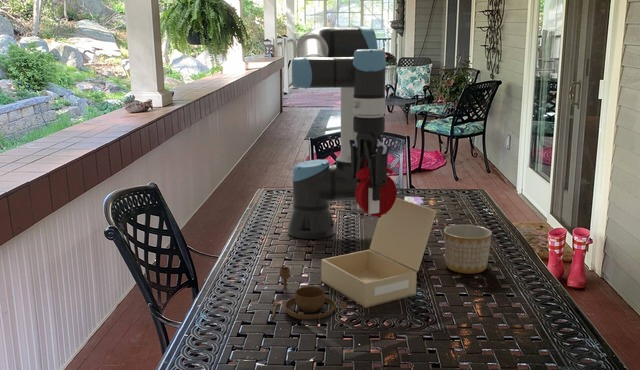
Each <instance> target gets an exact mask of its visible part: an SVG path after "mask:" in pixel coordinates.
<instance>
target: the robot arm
mask: <svg viewBox="0 0 640 370" xmlns="http://www.w3.org/2000/svg"><path fill="white" fill-rule="evenodd" d="M295 53H296V57H294V58H292V60H291V85H292V87H294V88H295V89H296V88H298V89H299V88H301V89H305V90H306V89H322V88H323V89H325V88H326V89H327V88H331V89H332V88H333V89H335V88H336V89H337V88H340V154H339V155H338V156H337V157H336V158H335V164H331V163H330V161H329V160H328V159H323V158H322V159H311V160H305V161H301V162H299V163H297V164H295V166H293V169H292V178H291V181H292V206H293V207H292V213H291V214H290V215H291V216H290V219H289V221H288V225H287V234H288V235H290V236H291V237H293V238H297V239H304V240H305V239H306V240H317V239H325V238H328V237H331V236H333V235H334V234H335V232H336V229H335V228H336V226H335V222H334V220H333V216H332V214H331V209H330V202H351V201H352V202H354V201H355V202H356V203H357V201H356V197H355V191H356V187H357V185H358V183H359V182H360V180H361V179H358V178H357V176H356V174H357V172H358V171H359V170H360V169H362V167H363V168H364V167H365V162H366V160H367V159H368V161H367V162H366V167H367V168H369V173H370V182H371V186H368V187H369V196H368V213H367V214H368V215H369V214H374V213H379V200H380V188H381V186H385V185H386V184H387V176H388V173H387V167H388V154H389V151H390V145H389V144H384V143H383V139H382V135H381V134H382V133H384V132H385V131H386V129H385V128H386V118H385V116H384V115H385V114H386V70H387V69H386V67H387V61H386V60H387V58H386V55H387V54H386V51H385V50H384V49H380V48H379V46H378V40H377V36H376V32H375V30H374V29H373V28H372V27H370V26H360V25H358V26H320V27H317V28H313V29H311V30H310V31H307V32H305V34H303V35H302V36H301V37H300V38H299V39H298V41H297V43H296V47H295ZM366 167H365V168H366ZM356 205H357V206H356V207H357V208H356V209H357V210H358V211H359V210H363V209H362V208H361V207H360V206H359V205H358V203H357V204H356Z"/></svg>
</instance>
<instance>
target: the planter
mask: <svg viewBox="0 0 640 370" xmlns="http://www.w3.org/2000/svg"><path fill="white" fill-rule="evenodd" d="M443 235H444V236H443V237H444V238H443V239H444V256H445V265H446V267H447V269H448V270H451V271H453V272H455V273H458V274H459V273H460V274H466V275H467V274H468V275H469V274H471V275H473V274H479V273H482V272H484V271H485V270H486V269H487V267H488V263H489V261H488V260H489V254H490V248H491V243H492V241H491V240H492V235H493V233H492V231H491V230H490V229H488V228H486V227H484V226H480V225H479V226H478V225H474V224H472V225H471V224H453V225H448V226H446V227H445V228H444V229H443Z"/></svg>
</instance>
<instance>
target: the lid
mask: <svg viewBox="0 0 640 370" xmlns="http://www.w3.org/2000/svg"><path fill="white" fill-rule="evenodd" d="M436 215H437V210H435V209H432V208H430V207H426V206H424V205H423V206H421V205H417V204H414V203H411V202H408V201H405V200H404V199H402V198H399V197H396V200H395V203H394V205H393V206H392V208H391V209H390V210H389V211H388V212H387V214H383V215H381V217H380V218H378V217H377V218H378V219H377V222H376V225H375V229H374V232H373V235H372V239H371V241H370V246H369V249H368V250H371V251H373V252H375V253H378V254H380V255H382V256H384V257H386V258H388V259H390V260H392V261H395V262H397V263H399V264H401V265H403V266H405V267H407V268H410V269H412V270H414V271H416V272H419V271H420V268H421V264H422V260H423V257H424V253H425V251H426V248H427V244H428V241H429V237H430V234H431V230H432V227H433V225H434V220H435V219H436V217H435V216H436Z"/></svg>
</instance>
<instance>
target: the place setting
mask: <svg viewBox="0 0 640 370" xmlns="http://www.w3.org/2000/svg"><path fill="white" fill-rule="evenodd" d="M279 275H280V278H281V279H282V280H283V283H282V285H283V289H284V290H287V289H288V282H287V281H288V279H289V278H290V276H291V269H290V267H289V266H282V267H280V268H279ZM280 300H281V299H280V297H279V298H278V297H277V298H274V300H273V306H274V307H273V310H272V314H271V318H274V316H275V314H276V309H277V306H280ZM325 303H326V304H328V305H329V306H330V307H331V308H330V310H328V311H325V312H321V313H317V314H316V312H317V311H319V309H321V308H323V307H324V304H325ZM294 304H295V305H296V306H297V308H299V309H300V310H302V312H304V313H315V314H302V313H297V312H296V311H295V310H293V308H291V307H290V306H292V305H294ZM336 306H337V305H336V302H335V301H334V299H332V298H331V297H328V296H326V291H325V289H323V288H321V287H318V286H303V287H299V288H298V289H296V290H295V291H294V296H293V297H291V298H289V299H288V300H286V301H285V302H284V309H285V312H286V313H287V314H288V315H289V316H290V317H292V318H295V319H297V320H302V321H306V320H316V319H323V318H326V317H329V316H331V315H332V314H333V313H334V312H335V310H336ZM338 306H339V308H340V309H341V314H343V313H344V311H345V309H346V308H347V306H348V304H347V303H346V302H345V301H341V302H339V304H338Z"/></svg>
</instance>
